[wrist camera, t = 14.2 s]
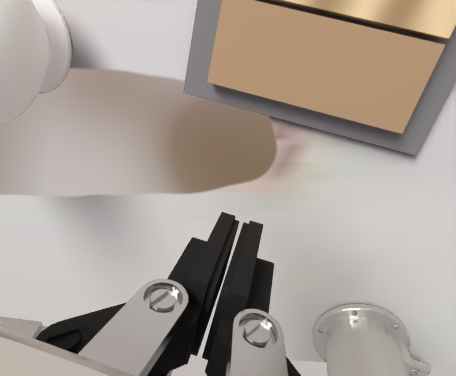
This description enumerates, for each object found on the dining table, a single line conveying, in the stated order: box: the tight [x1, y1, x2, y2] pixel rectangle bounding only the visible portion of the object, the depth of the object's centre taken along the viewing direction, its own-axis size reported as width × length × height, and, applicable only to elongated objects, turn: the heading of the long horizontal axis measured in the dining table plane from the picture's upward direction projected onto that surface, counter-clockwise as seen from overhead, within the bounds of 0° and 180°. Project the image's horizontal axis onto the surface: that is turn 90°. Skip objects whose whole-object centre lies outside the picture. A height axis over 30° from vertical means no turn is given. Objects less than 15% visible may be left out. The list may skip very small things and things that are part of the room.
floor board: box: [184, 0, 456, 155], centre depth 28 cm, size 26×22×3 cm
